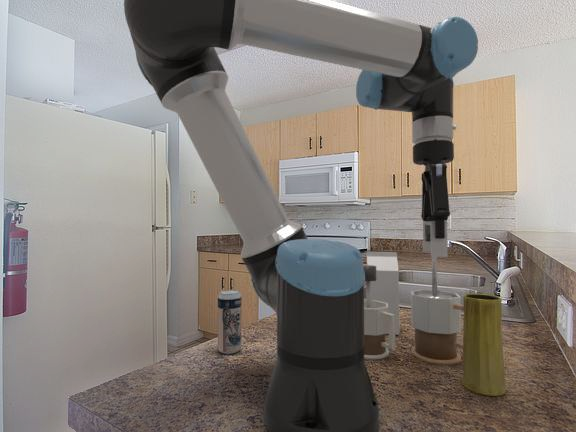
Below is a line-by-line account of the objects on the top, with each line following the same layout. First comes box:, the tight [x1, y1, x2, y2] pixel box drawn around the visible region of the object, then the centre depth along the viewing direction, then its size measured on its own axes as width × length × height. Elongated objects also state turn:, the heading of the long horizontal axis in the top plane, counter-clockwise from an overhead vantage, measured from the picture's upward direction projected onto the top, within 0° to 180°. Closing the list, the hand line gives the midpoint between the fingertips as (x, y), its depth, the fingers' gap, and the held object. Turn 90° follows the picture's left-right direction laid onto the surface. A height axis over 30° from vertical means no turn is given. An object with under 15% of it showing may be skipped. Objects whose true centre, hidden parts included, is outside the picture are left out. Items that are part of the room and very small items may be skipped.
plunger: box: [417, 225, 453, 299], centre depth 67 cm, size 6×6×14 cm
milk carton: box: [366, 251, 400, 336], centre depth 83 cm, size 7×7×19 cm
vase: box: [461, 292, 507, 397], centre depth 54 cm, size 6×6×14 cm
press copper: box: [410, 289, 464, 366], centre depth 66 cm, size 9×12×12 cm
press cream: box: [363, 264, 396, 361], centre depth 68 cm, size 8×10×17 cm
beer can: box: [217, 289, 243, 355], centre depth 70 cm, size 5×5×12 cm
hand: (434, 254), depth 67 cm, fingers open, 10 cm apart
